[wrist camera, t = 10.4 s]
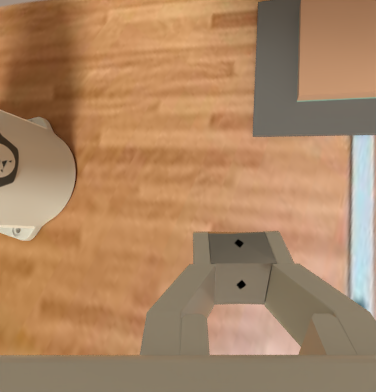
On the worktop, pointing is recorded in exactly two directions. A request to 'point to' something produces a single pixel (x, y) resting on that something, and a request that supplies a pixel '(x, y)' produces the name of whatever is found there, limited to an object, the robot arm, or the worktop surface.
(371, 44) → the tile
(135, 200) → the worktop surface
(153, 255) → the worktop surface
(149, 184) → the worktop surface
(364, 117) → the mat
